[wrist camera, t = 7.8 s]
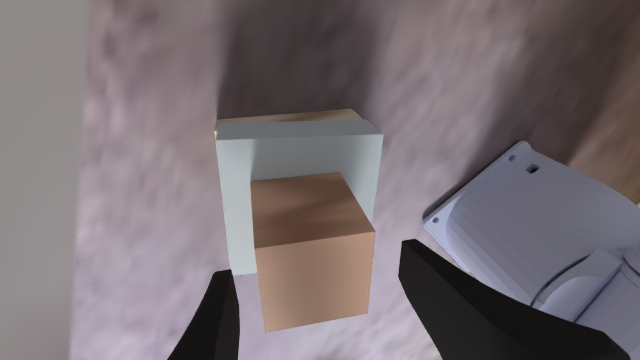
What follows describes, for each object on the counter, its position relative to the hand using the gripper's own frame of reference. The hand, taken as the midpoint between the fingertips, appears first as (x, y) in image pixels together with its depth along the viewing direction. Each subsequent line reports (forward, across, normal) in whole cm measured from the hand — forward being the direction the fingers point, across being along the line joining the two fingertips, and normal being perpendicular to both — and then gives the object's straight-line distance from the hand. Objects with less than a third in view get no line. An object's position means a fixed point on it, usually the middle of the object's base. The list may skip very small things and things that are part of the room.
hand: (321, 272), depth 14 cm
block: (+4, 0, 0) cm, 4 cm away
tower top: (+7, 0, 0) cm, 7 cm away
